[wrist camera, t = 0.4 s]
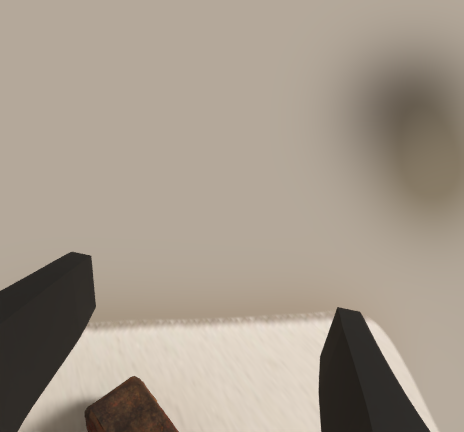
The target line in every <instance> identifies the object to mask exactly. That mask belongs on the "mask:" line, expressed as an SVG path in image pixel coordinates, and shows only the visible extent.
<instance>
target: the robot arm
mask: <svg viewBox="0 0 464 432" xmlns="http://www.w3.org/2000/svg"><path fill="white" fill-rule="evenodd" d="M95 307H96V303H95V292H94V281H93V270H92V260H91V256H90V255H85V254H80V253H76V252H70V253H68V254H66V255H64V256H62V257H61V258H59V259H57V260H55V261H53V262H52V263H50V264H48V265H46V266H45V267H43V268H41V269H39V270H38V271H36V272H34V273H32V274H30V275H29V276H27V277H25V278H23V279H21V280H20V281H18V282H16V283H14V284H12V285H10V286H9V287H7V288H5V289H3V290H1V291H0V432H18V430H19V428H20V426H21V425H22V423H23V421H24V420H25V418H26V416H27V415H28V413H29V412H30V410H31V409H32V407H33V405H34V404H35V403H36V401H37V400H38V398H39V397H40V395H41V394H42V392H43V391H44V390H45V388H46V387H47V385H48V384H49V382H50V381H51V379H52V378H53V377H54V375H55V374H56V372H57V371H58V369H59V368H60V366H61V365H62V364H63V362H64V361H65V359H66V358H67V356H68V355H69V353H70V352H71V350H72V349H73V347H74V346H75V344H76V343H77V341H78V340H79V338H80V337H81V335H82V333H83V331H84V329H85V327H86V326H87V324H88V322H89V320H90V318H91V316H92V313H93V312H94V310H95ZM319 405H320V420H321V432H430V430H429V429H428V427H427V426H426V425H425V423H424V422H423V420H422V419H421V417H420V416H419V414H418V412H417V411H416V409H415V408H414V406H413V405H412V403H411V402H410V400H409V399H408V397H407V395H406V394H405V392H404V390H403V389H402V387H401V385H400V384H399V382H398V380H397V379H396V377H395V375H394V374H393V372H392V370H391V368H390V367H389V365H388V363H387V361H386V360H385V358H384V356H383V354H382V352H381V350H380V349H379V347H378V345H377V343H376V341H375V339H374V337H373V335H372V333H371V331H370V330H369V328H368V326H367V324H366V322H365V320H364V318H363V316H362V314H361V313H360V312H358V311H353V310H349V309H344V308H339V307H338V308H337V310H336V313H335V316H334V319H333V322H332V324H331V327H330V330H329V333H328V336H327V339H326V341H325V344H324V347H323V350H322V353H321V356H320V371H319Z"/></svg>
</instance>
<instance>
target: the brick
mask: <svg viewBox="0 0 464 432" xmlns="http://www.w3.org/2000/svg"><path fill="white" fill-rule="evenodd" d="M85 419H86V426H87V430H88V432H178V430H177V429H176V428H175V426H174V425H173V423H172V422H171V420H170V419H169V418H168V416H167V415H166V414H165V412H164V411H163V409H162V408H161V407H160V406H159V404H158V403H157V400H156V399H155V397H154V396H153V395H152V394H151V393H150V391H149V390H148V389H147V387H146V386H145V384H144V382H143V381H141V380H140V379H139V378H137V377H136V376H132V377H130V378H129V379H128V380H126V381H125V382H123V383H122V384H121V385H119V386H118V387H116V388H115V389H114V390H112V391H111V392H109V393H108V394H106V395H105V396H104V397H102V398H101V399H99V400H98V401H96V402H95V403H93V404H92V405H90V406H89V407H88V408H87V409H86V410H85Z"/></svg>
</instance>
